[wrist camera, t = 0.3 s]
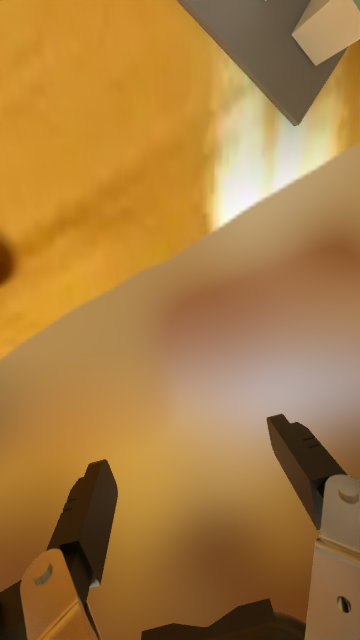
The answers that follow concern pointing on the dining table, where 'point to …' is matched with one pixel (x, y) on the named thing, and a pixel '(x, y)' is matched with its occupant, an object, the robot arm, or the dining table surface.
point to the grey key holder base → (266, 48)
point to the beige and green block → (328, 28)
